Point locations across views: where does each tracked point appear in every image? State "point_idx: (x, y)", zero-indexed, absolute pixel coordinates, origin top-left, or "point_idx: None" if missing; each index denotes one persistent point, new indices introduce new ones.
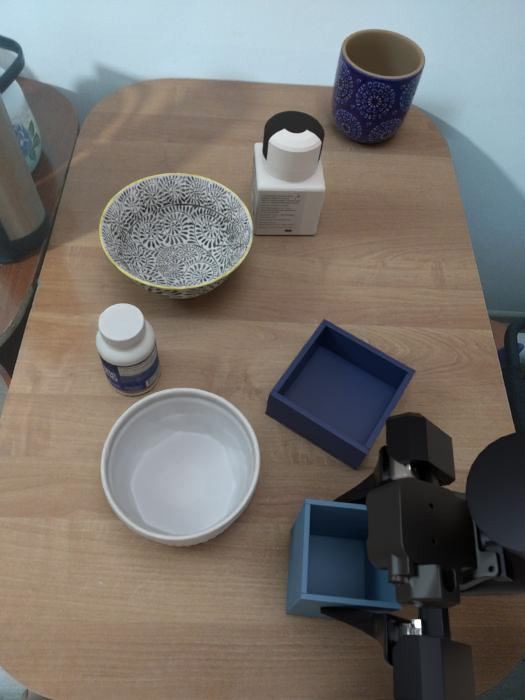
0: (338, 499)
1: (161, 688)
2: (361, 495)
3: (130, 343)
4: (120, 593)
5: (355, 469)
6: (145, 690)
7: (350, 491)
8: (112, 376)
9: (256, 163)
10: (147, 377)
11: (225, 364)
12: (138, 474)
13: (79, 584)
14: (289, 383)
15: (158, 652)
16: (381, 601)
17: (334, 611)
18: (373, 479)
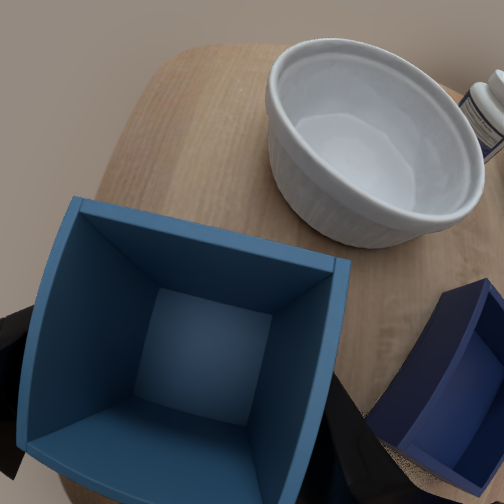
0: (333, 380)
1: (125, 134)
2: (344, 450)
3: (500, 91)
4: (226, 102)
5: None
6: (129, 122)
7: (356, 415)
8: None
9: None
10: None
11: (484, 248)
12: (358, 123)
13: (242, 77)
14: (484, 322)
15: (158, 131)
16: (27, 410)
17: None
18: (397, 492)
